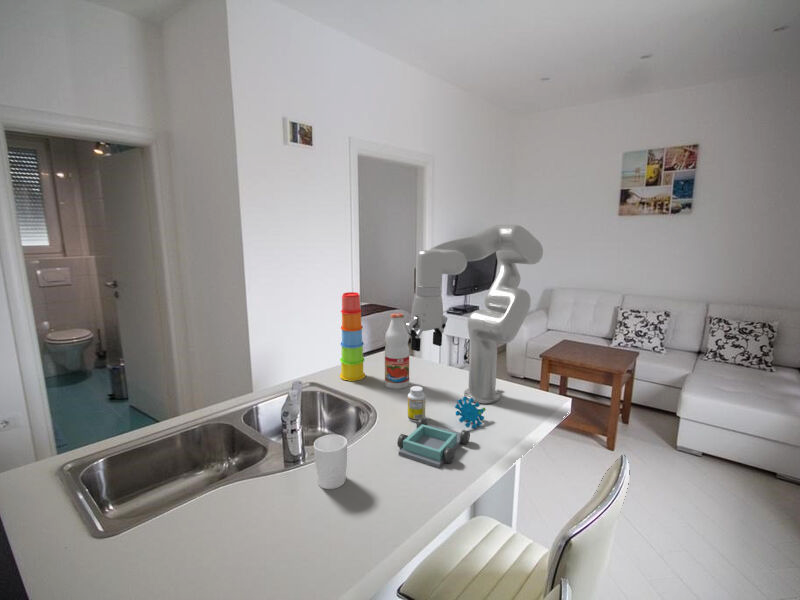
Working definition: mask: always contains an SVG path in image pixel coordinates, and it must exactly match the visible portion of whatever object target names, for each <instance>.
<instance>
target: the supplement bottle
mask: <svg viewBox="0 0 800 600" xmlns="http://www.w3.org/2000/svg"><path fill="white" fill-rule="evenodd" d="M409 389H410V390H409V393H408V394H407V418H408V420H409V421H411V422H414V423H417V422H418V420H419V419H420V418H422V419H425V420H426V394H425V393H424V388H423V387H422V386H418V385H414V386H411V387H410V388H409Z"/></svg>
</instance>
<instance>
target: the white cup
mask: <svg viewBox="0 0 800 600" xmlns="http://www.w3.org/2000/svg"><path fill="white" fill-rule="evenodd" d="M313 452H314V454H313V455H314V464H315V472H316V476H317V477H316V479H317V484H318V486H319V487H320V488H322V489H325V490H334V489H337V488H340V487H341V486H342V485H344V484H345V483H346V480H347V466H348V464H347V462H348V440H347V438H346V437H344V436H343V435H340V434H326V435H322V436H320V437H318V438H316V439H315V440H314V441H313Z"/></svg>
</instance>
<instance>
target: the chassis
mask: <svg viewBox="0 0 800 600" xmlns="http://www.w3.org/2000/svg"><path fill="white" fill-rule="evenodd" d="M427 424H428V421H427V419H426V418H425V419H422V418H420V419H419V420H418V422H416V429H415V430H414V431H412V432H411V434H409V435H407V434H404V433H401V434H400V435H399V436H398V438H397V443H396V444H397V447H398V448H400V449H399V450H398V456H400V457H404V458H406V459H409V460H413V461H416V462H420V463H422V464H425V465H429V466H431V467H434V468H437V469H440V467H442V466H443V464H444V463H448V464H452V463H453V460H454V459H455V451H456V449H457V448H458V447H459V445H461V444H464V445H468V443H469V442H470V436H471V432H470V431H469V430H465V429H463V430H461V432H459V431H455V430H453V429H447V428H445V427H440V426H438V425H433V424H431V423H430V424H428V425H427Z"/></svg>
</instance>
